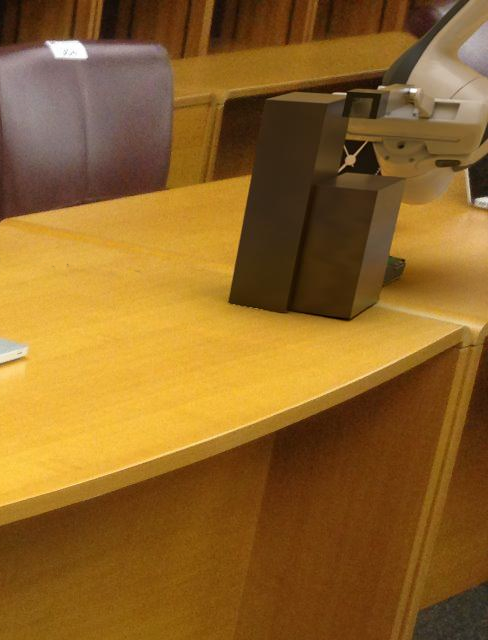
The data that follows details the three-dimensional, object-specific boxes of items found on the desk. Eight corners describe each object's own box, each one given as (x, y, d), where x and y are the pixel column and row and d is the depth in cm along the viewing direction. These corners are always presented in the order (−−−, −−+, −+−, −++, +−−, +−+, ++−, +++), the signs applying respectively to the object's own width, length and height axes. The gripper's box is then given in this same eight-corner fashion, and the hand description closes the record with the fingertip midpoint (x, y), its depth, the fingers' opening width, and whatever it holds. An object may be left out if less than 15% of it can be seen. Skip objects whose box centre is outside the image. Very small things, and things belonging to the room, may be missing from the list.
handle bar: (417, 104, 201) (422, 80, 200) (376, 119, 187) (381, 93, 186) (384, 102, 203) (390, 78, 202) (341, 117, 189) (346, 91, 188)
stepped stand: (378, 300, 207) (425, 96, 196) (345, 321, 196) (392, 107, 185) (265, 285, 216) (303, 89, 204) (227, 305, 205) (265, 99, 193)
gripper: (337, 110, 217) (323, 64, 205) (498, 121, 205) (492, 73, 194) (323, 153, 217) (307, 109, 205) (482, 166, 205) (475, 121, 194)
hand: (398, 92), depth 199 cm, fingers closed on handle bar, 2 cm apart
